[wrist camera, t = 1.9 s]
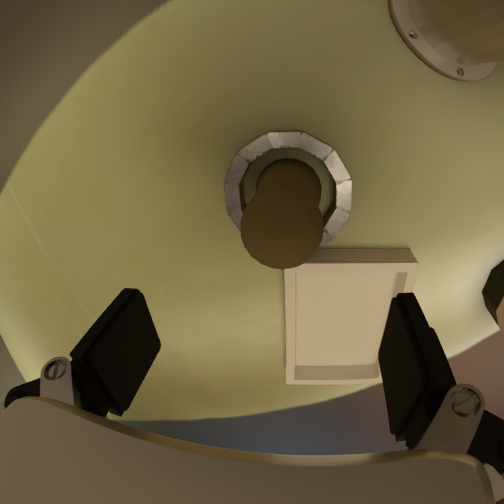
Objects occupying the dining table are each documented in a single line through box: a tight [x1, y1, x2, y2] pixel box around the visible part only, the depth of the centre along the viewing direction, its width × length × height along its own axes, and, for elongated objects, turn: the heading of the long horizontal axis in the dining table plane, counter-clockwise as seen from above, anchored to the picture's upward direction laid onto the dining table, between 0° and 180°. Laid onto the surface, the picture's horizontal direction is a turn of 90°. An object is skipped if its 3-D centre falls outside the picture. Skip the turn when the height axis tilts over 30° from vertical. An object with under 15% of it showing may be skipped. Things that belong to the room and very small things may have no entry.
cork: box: [240, 158, 324, 269], centre depth 21 cm, size 6×6×11 cm
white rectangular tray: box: [284, 249, 419, 385], centre depth 30 cm, size 18×13×3 cm
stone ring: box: [224, 131, 352, 246], centre depth 25 cm, size 11×11×2 cm
